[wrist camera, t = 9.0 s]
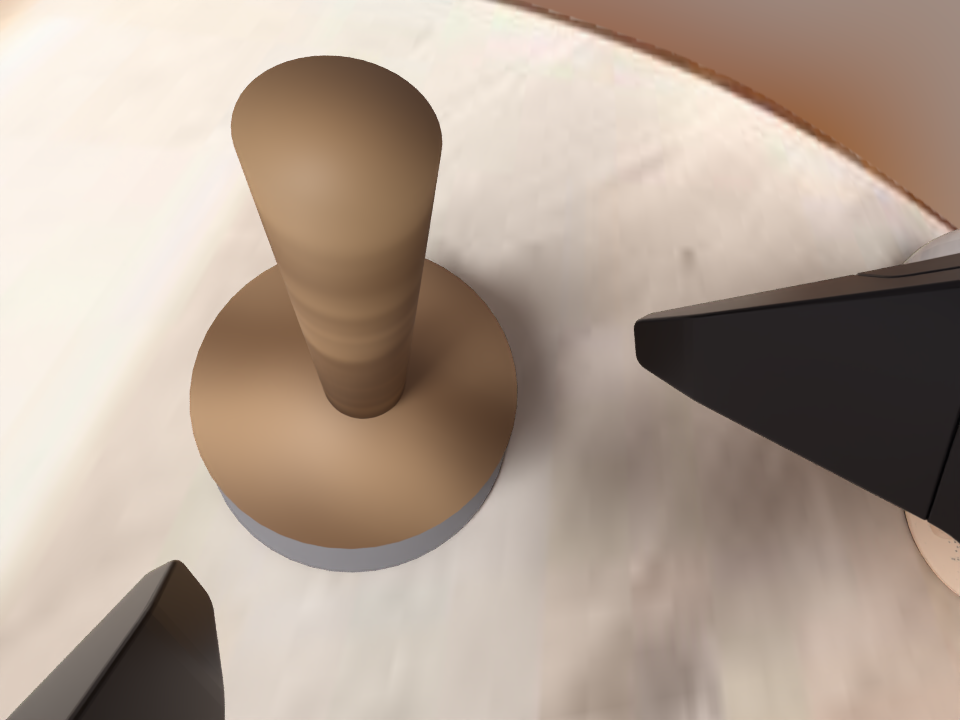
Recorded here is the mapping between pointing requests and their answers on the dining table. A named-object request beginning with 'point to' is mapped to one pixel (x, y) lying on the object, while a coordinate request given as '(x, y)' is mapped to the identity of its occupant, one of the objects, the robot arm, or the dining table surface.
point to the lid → (348, 323)
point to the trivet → (365, 556)
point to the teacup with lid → (937, 551)
